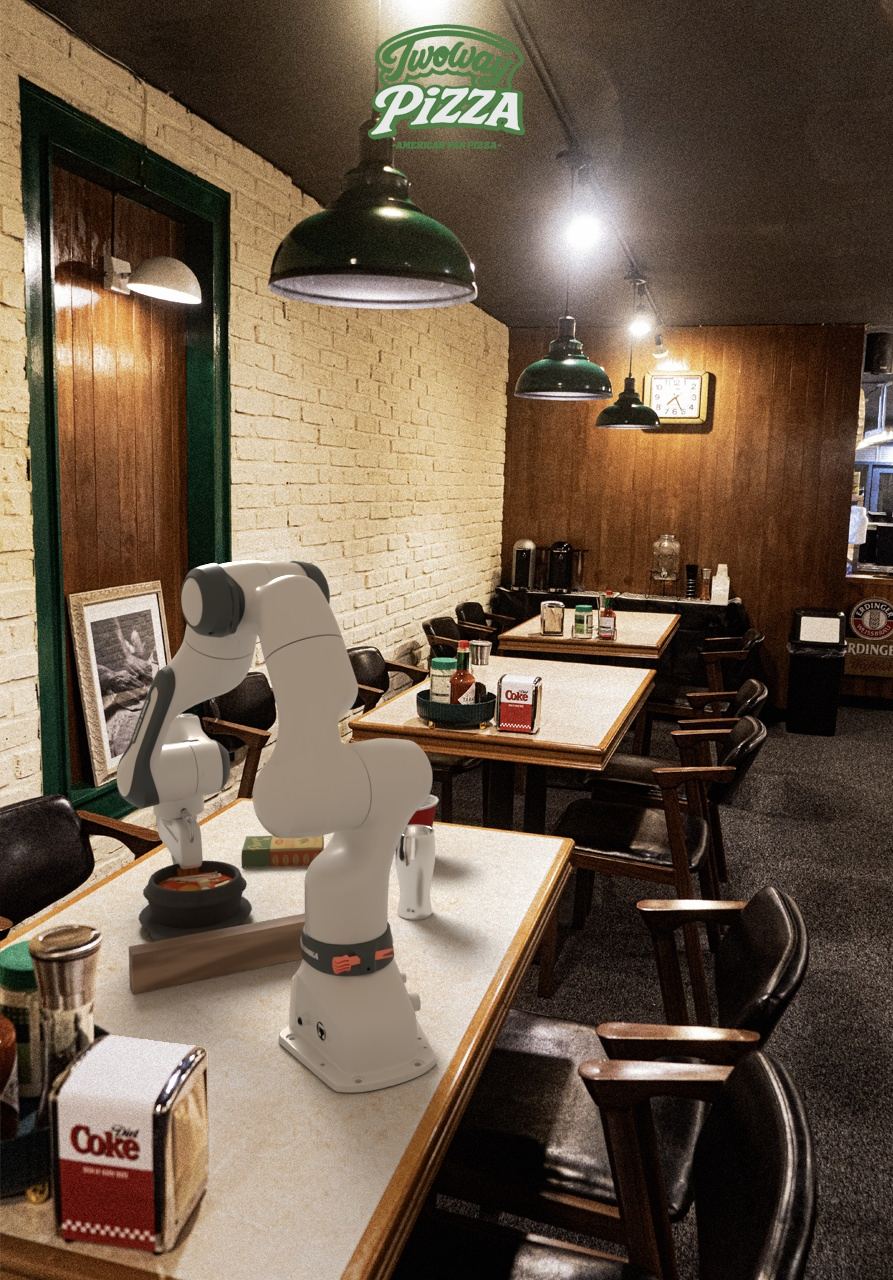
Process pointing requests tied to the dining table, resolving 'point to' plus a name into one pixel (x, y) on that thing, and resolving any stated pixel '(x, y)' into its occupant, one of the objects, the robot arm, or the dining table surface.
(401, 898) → the beer glass
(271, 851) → the carton
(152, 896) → the casserole
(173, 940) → the walnut board
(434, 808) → the plastic cup
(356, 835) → the robot arm
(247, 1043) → the dining table surface
